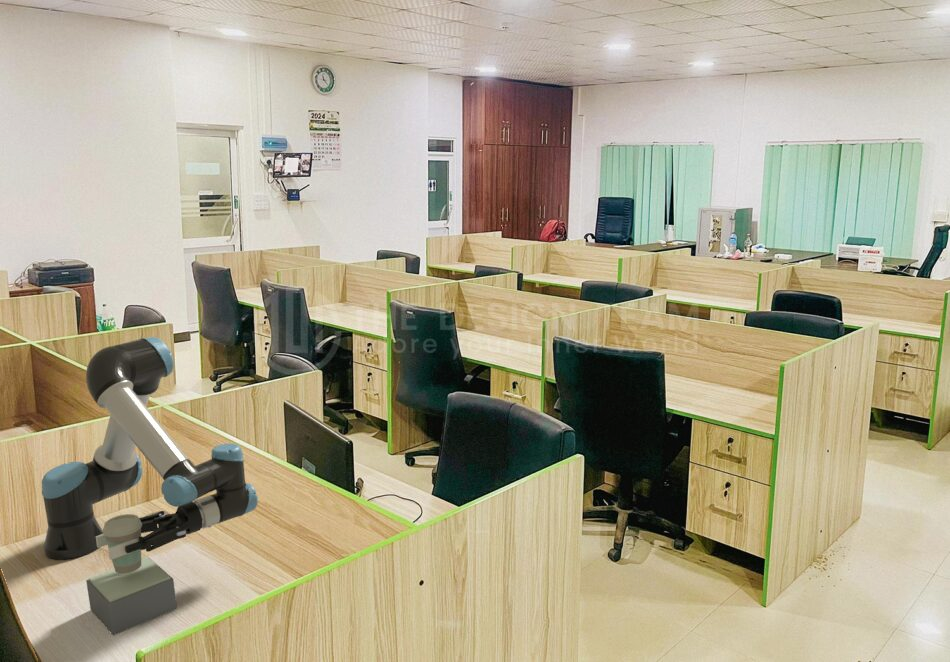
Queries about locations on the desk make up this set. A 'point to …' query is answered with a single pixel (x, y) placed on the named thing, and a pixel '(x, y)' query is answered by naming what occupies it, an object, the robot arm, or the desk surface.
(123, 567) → the coffee cup
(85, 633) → the desk surface
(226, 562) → the desk surface
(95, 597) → the block
